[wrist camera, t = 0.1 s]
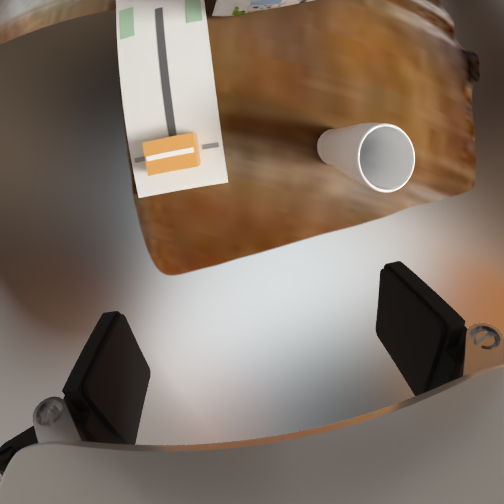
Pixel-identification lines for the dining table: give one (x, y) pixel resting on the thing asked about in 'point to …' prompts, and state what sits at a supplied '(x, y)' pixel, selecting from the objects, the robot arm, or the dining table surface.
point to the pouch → (249, 6)
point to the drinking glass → (369, 154)
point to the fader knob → (171, 153)
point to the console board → (169, 88)
